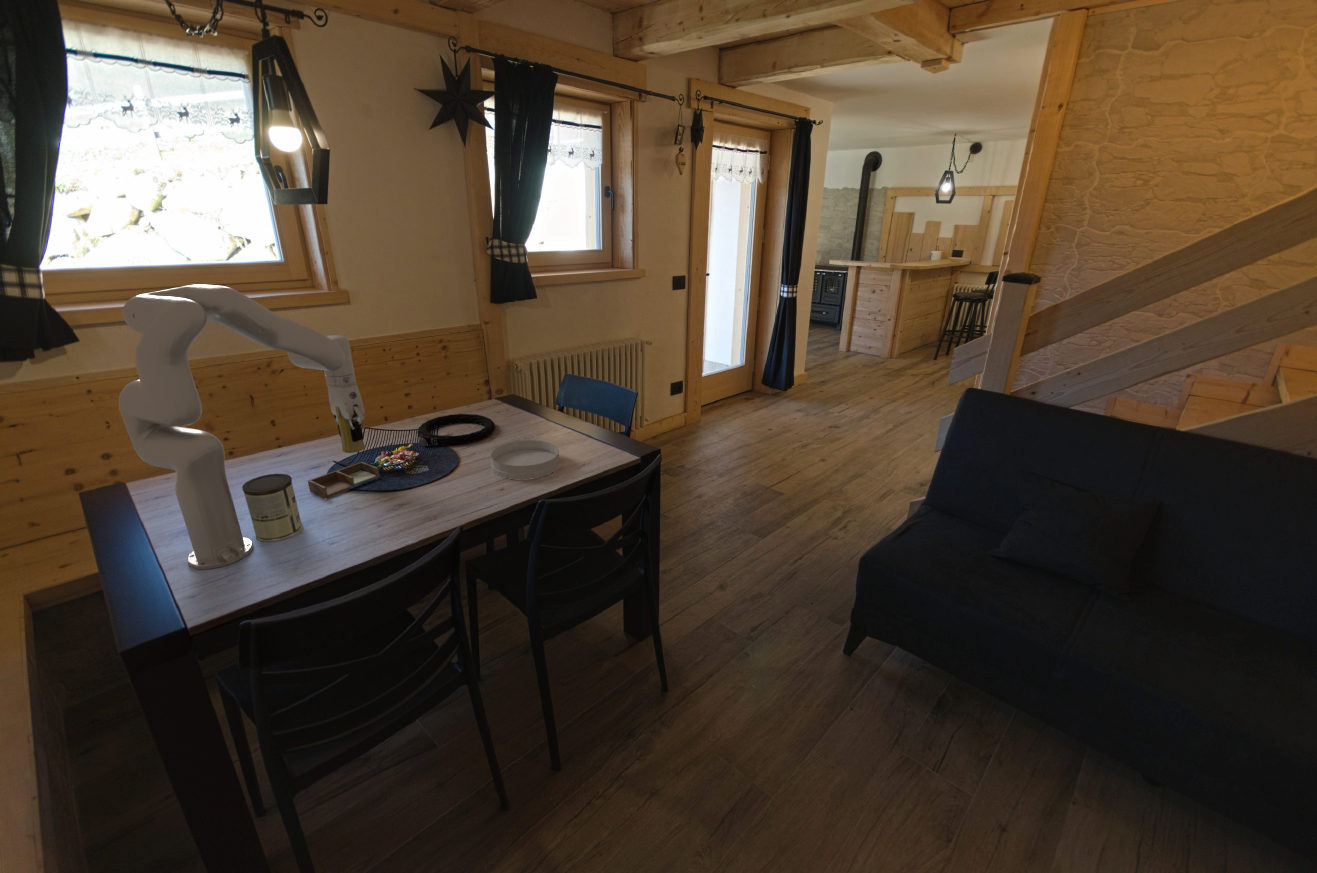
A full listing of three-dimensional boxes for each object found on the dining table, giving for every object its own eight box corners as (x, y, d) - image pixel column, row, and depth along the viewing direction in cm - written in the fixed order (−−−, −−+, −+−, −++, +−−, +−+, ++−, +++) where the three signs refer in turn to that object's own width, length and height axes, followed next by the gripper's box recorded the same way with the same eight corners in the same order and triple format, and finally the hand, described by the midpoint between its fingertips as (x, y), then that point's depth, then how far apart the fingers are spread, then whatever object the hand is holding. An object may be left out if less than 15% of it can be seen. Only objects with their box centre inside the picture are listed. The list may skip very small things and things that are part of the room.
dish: (567, 455, 199) (566, 441, 198) (550, 482, 179) (549, 468, 177) (504, 451, 201) (503, 438, 199) (480, 478, 180) (479, 464, 179)
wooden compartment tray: (379, 478, 178) (378, 467, 177) (326, 498, 165) (323, 487, 164) (363, 471, 183) (361, 461, 181) (309, 491, 169) (307, 480, 168)
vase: (340, 454, 170) (331, 408, 165) (344, 446, 175) (336, 401, 170) (363, 452, 171) (354, 406, 166) (366, 444, 177) (359, 400, 172)
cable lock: (510, 420, 220) (450, 445, 196) (510, 429, 222) (451, 455, 197) (457, 408, 232) (393, 430, 207) (457, 417, 234) (395, 440, 209)
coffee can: (251, 530, 148) (238, 481, 143) (296, 517, 155) (285, 469, 150) (260, 547, 141) (246, 495, 136) (307, 532, 148) (296, 483, 143)
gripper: (371, 381, 164) (380, 440, 171) (336, 371, 173) (347, 428, 179) (345, 387, 158) (356, 448, 165) (311, 377, 167) (323, 435, 173)
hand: (351, 437), depth 172 cm, fingers closed on vase, 5 cm apart
